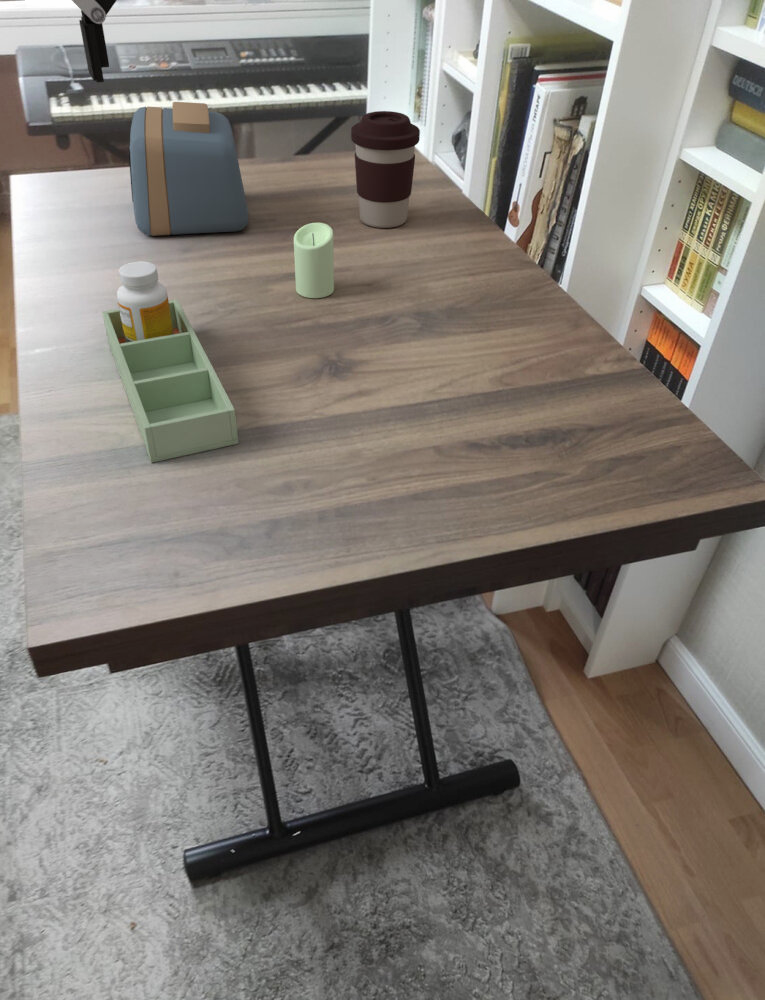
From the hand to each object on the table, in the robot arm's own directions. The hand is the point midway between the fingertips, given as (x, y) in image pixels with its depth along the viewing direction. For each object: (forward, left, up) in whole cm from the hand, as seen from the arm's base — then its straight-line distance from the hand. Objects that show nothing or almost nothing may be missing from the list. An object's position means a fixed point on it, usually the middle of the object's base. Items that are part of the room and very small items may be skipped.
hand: (32, 83), depth 64 cm
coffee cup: (+48, +41, -32) cm, 71 cm away
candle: (+30, +22, -32) cm, 49 cm away
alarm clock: (+21, +52, -32) cm, 65 cm away
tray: (+7, +5, -32) cm, 33 cm away
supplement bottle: (+7, +13, -32) cm, 35 cm away
